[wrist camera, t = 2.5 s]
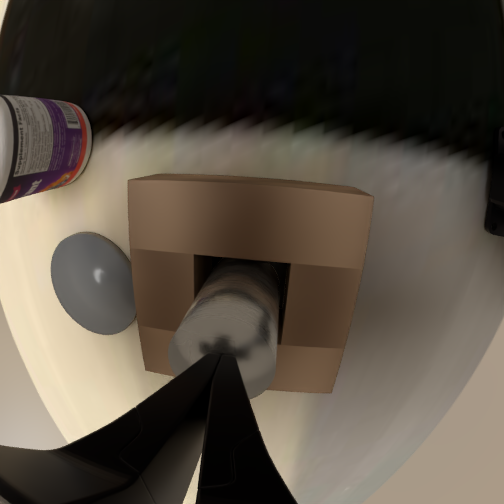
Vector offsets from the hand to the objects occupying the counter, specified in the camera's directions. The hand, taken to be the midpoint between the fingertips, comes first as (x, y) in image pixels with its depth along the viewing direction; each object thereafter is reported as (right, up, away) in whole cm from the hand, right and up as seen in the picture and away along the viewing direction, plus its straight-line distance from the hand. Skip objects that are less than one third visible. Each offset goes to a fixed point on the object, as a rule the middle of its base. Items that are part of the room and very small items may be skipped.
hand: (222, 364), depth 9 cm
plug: (+1, +2, +6) cm, 6 cm away
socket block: (+1, +2, +7) cm, 8 cm away
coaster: (-9, +1, +9) cm, 13 cm away
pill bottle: (-11, +10, +6) cm, 16 cm away
